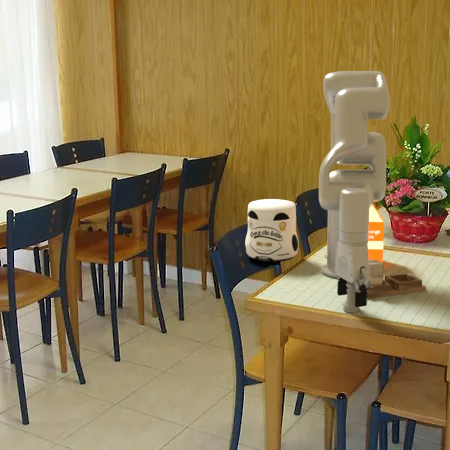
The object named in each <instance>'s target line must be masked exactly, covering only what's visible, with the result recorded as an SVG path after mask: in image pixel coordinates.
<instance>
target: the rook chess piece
mask: <svg viewBox="0 0 450 450" xmlns="http://www.w3.org/2000/svg"><path fill="white" fill-rule="evenodd" d="M346 286H347V288H348V289H347V295H346V298H345V300H344V302H343V304H342V305H343V307H342V310H343V311H344V312H345V313H348V314H356V313H357V314H358V312H360V310H361V307H355V292H357V290H356V287H355V283H349V282H348V281H347V284H346Z"/></svg>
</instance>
